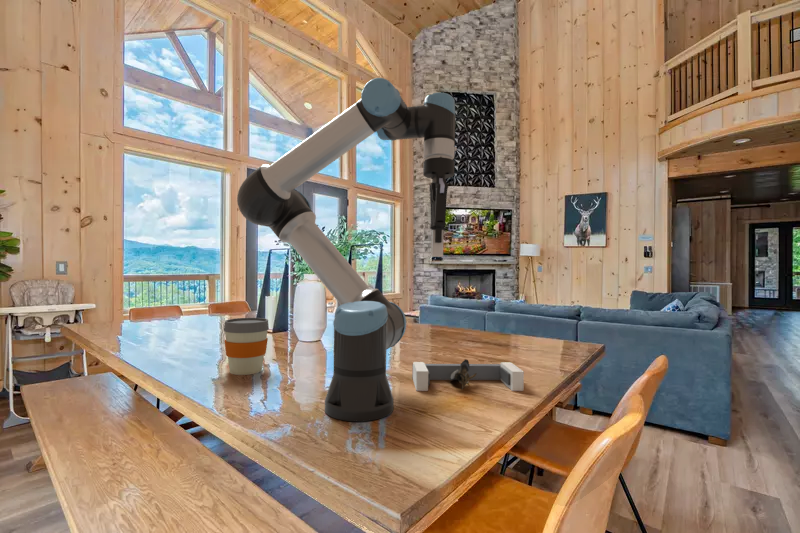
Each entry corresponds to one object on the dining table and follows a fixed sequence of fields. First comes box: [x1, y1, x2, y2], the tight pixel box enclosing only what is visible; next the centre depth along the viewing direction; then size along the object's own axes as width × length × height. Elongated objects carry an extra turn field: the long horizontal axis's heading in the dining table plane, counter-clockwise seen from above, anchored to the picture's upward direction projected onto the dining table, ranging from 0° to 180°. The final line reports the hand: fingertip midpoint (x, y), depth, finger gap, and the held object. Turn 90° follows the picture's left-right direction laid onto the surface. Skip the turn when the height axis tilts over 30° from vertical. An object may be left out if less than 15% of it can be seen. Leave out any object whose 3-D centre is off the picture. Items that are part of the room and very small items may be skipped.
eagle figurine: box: [448, 358, 477, 390], centre depth 109 cm, size 8×7×9 cm
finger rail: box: [411, 361, 525, 392], centre depth 109 cm, size 28×12×5 cm, turn 93°
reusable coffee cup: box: [223, 317, 270, 376], centre depth 119 cm, size 13×13×15 cm
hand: (437, 256), depth 98 cm, fingers closed
